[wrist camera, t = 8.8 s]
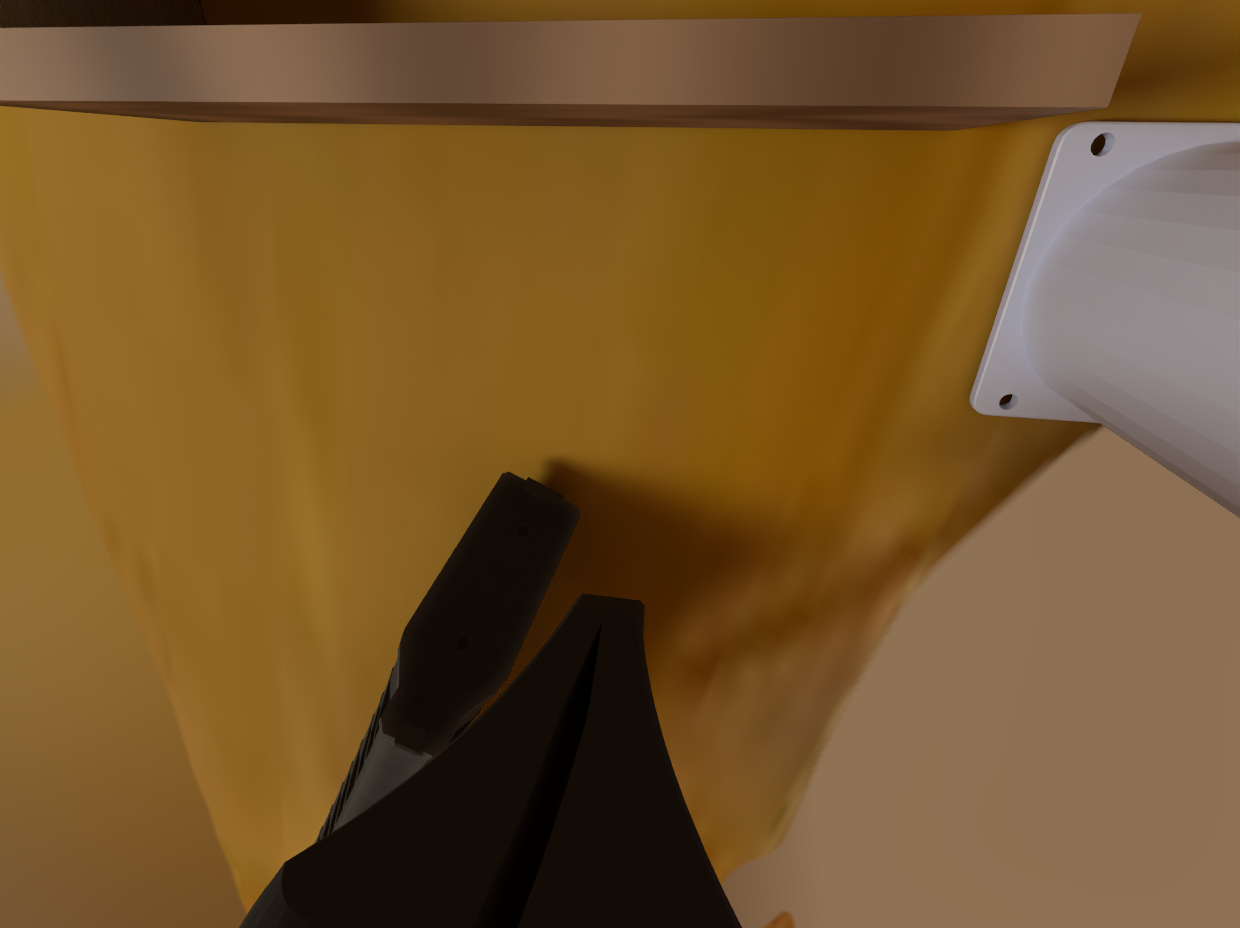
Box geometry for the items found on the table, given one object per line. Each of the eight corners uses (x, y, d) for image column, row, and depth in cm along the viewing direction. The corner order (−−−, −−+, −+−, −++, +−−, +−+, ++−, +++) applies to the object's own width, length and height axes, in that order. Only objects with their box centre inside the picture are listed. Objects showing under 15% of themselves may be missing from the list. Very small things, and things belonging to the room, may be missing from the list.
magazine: (433, 546, 13) (68, 1273, 19) (559, 609, 13) (159, 1304, 19) (542, 426, 30) (328, 835, 36) (597, 455, 30) (375, 856, 36)
